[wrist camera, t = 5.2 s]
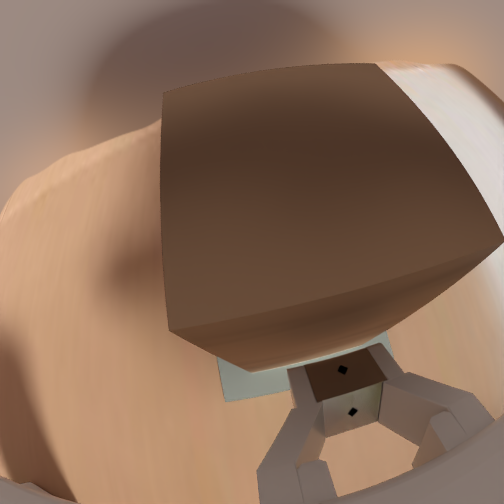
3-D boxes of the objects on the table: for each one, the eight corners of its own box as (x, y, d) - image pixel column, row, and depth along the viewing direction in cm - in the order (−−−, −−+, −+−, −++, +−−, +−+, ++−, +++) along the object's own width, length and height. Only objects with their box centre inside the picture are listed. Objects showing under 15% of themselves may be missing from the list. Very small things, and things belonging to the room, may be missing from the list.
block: (232, 271, 20) (163, 92, 8) (330, 249, 20) (375, 63, 8) (252, 373, 17) (169, 330, 4) (360, 345, 17) (505, 240, 4)
